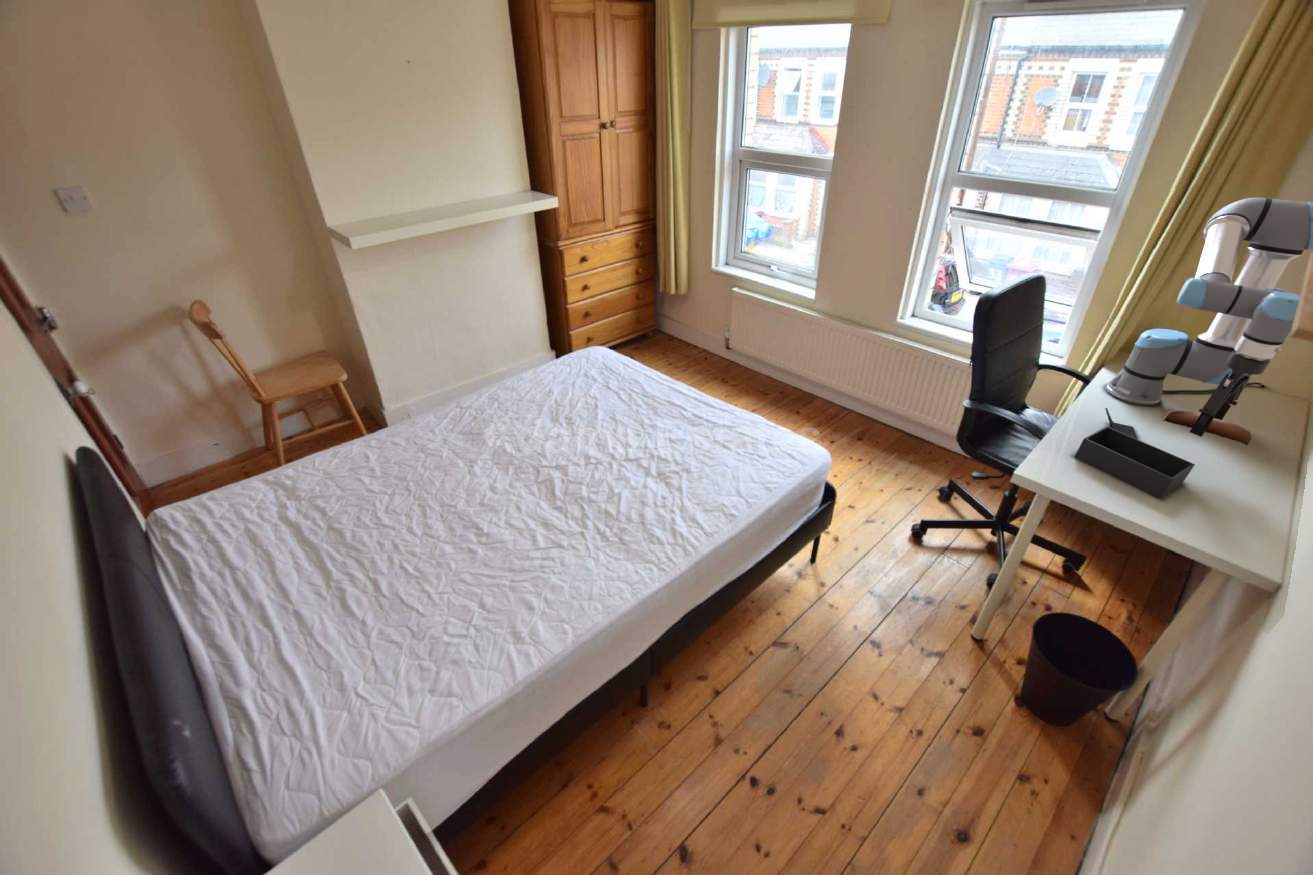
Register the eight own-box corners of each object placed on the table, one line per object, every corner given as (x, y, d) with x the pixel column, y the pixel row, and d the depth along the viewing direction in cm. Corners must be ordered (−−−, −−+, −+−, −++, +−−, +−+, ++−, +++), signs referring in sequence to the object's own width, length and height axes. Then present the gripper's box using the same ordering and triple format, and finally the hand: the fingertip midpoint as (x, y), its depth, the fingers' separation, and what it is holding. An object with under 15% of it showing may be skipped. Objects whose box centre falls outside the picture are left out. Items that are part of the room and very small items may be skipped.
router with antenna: (1148, 442, 172) (1136, 414, 170) (1120, 452, 175) (1107, 424, 173) (1132, 427, 182) (1120, 401, 180) (1106, 437, 185) (1094, 411, 183)
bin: (1097, 444, 173) (1107, 426, 170) (1182, 483, 158) (1195, 464, 154) (1074, 457, 168) (1083, 438, 164) (1160, 499, 152) (1173, 479, 148)
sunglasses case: (1247, 433, 156) (1260, 420, 151) (1239, 453, 154) (1251, 441, 149) (1165, 410, 166) (1174, 397, 160) (1157, 429, 164) (1166, 416, 159)
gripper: (1253, 371, 138) (1202, 447, 151) (1287, 350, 148) (1237, 424, 161) (1215, 358, 144) (1169, 433, 156) (1250, 340, 153) (1204, 411, 166)
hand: (1203, 428), depth 158 cm, fingers closed on sunglasses case, 9 cm apart
